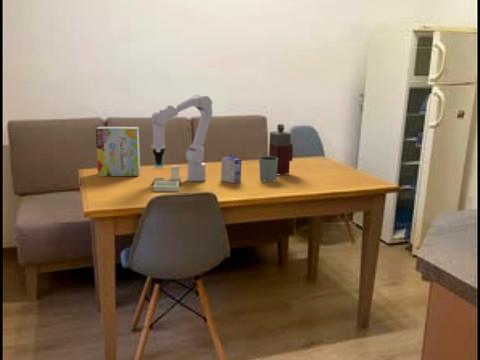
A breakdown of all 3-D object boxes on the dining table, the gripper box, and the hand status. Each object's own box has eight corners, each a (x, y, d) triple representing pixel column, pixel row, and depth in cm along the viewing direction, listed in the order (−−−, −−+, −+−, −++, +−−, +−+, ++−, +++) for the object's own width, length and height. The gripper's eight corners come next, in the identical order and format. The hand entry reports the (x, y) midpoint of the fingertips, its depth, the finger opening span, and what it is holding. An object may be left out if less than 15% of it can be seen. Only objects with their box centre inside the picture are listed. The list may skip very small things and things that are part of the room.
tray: (178, 185, 250) (178, 181, 249) (178, 191, 240) (178, 186, 239) (155, 185, 248) (155, 181, 248) (154, 191, 238) (153, 186, 238)
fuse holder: (181, 181, 258) (181, 176, 257) (181, 185, 251) (181, 180, 250) (153, 181, 256) (153, 176, 256) (152, 185, 249) (152, 180, 249)
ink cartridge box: (241, 182, 261) (242, 154, 258) (234, 183, 257) (234, 156, 254) (227, 178, 267) (228, 152, 264) (220, 180, 263) (221, 153, 260)
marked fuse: (163, 167, 253) (163, 151, 251) (162, 168, 250) (162, 153, 248) (155, 167, 252) (155, 151, 251) (154, 168, 250) (154, 153, 248)
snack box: (140, 173, 275) (139, 126, 268) (138, 176, 266) (137, 128, 260) (100, 172, 273) (98, 125, 267) (97, 176, 264) (95, 128, 258)
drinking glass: (275, 182, 262) (276, 160, 259) (256, 181, 264) (257, 159, 261) (278, 178, 271) (279, 156, 268) (259, 177, 273) (260, 155, 270)
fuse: (179, 180, 256) (179, 165, 254) (179, 182, 253) (179, 166, 251) (171, 180, 255) (171, 165, 253) (171, 182, 252) (171, 166, 250)
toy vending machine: (292, 174, 282) (295, 124, 275) (274, 175, 278) (277, 125, 271) (285, 170, 290) (288, 122, 283) (268, 172, 286) (270, 123, 279)
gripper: (151, 134, 254) (151, 160, 257) (149, 139, 240) (150, 166, 243) (165, 134, 255) (165, 160, 258) (164, 139, 241) (164, 166, 244)
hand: (159, 163), depth 251 cm, fingers closed on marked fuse, 3 cm apart
